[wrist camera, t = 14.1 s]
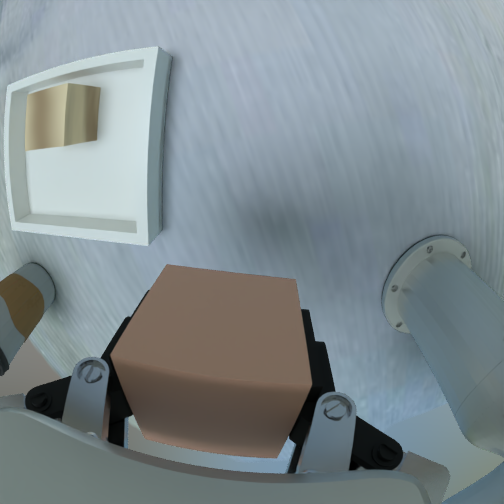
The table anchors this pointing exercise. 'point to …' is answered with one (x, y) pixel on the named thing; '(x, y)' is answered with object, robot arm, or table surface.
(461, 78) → the table surface
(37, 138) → the maple block
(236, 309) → the terracotta block
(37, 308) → the coffee cup
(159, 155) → the tray
